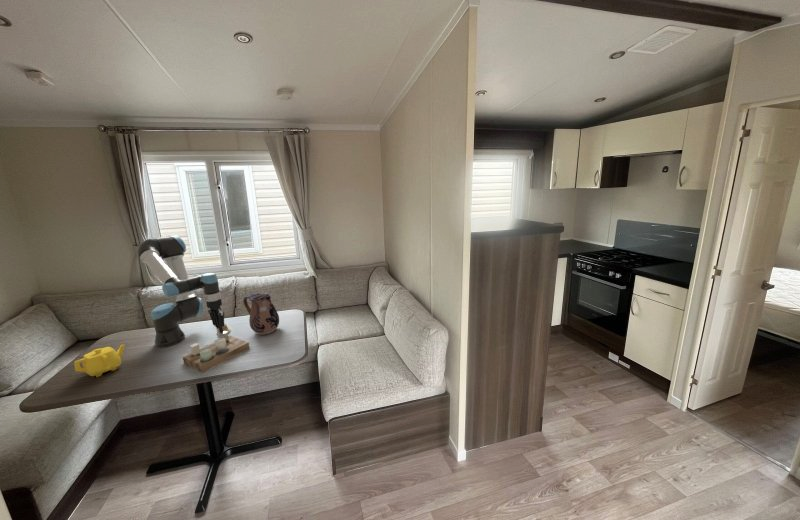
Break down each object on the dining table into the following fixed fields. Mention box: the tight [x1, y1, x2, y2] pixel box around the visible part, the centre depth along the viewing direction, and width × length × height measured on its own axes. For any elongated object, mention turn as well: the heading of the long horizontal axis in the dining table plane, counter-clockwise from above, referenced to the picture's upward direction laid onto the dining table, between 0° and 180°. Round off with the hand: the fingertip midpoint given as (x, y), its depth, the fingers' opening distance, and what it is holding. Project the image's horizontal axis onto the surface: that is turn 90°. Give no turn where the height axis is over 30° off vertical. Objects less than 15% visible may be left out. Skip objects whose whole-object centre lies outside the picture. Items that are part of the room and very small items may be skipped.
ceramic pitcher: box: [242, 291, 280, 336], centre depth 191 cm, size 18×21×25 cm
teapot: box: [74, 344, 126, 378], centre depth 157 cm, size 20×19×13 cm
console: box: [182, 335, 250, 373], centre depth 167 cm, size 19×26×4 cm
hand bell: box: [216, 323, 232, 337], centre depth 193 cm, size 8×8×16 cm
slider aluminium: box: [219, 331, 229, 341], centre depth 175 cm, size 3×3×5 cm
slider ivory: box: [189, 342, 201, 355], centre depth 162 cm, size 3×3×5 cm
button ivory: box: [214, 338, 227, 349], centre depth 162 cm, size 5×5×4 cm
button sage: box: [200, 349, 213, 361], centre depth 156 cm, size 5×5×4 cm
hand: (221, 336), depth 177 cm, fingers closed
